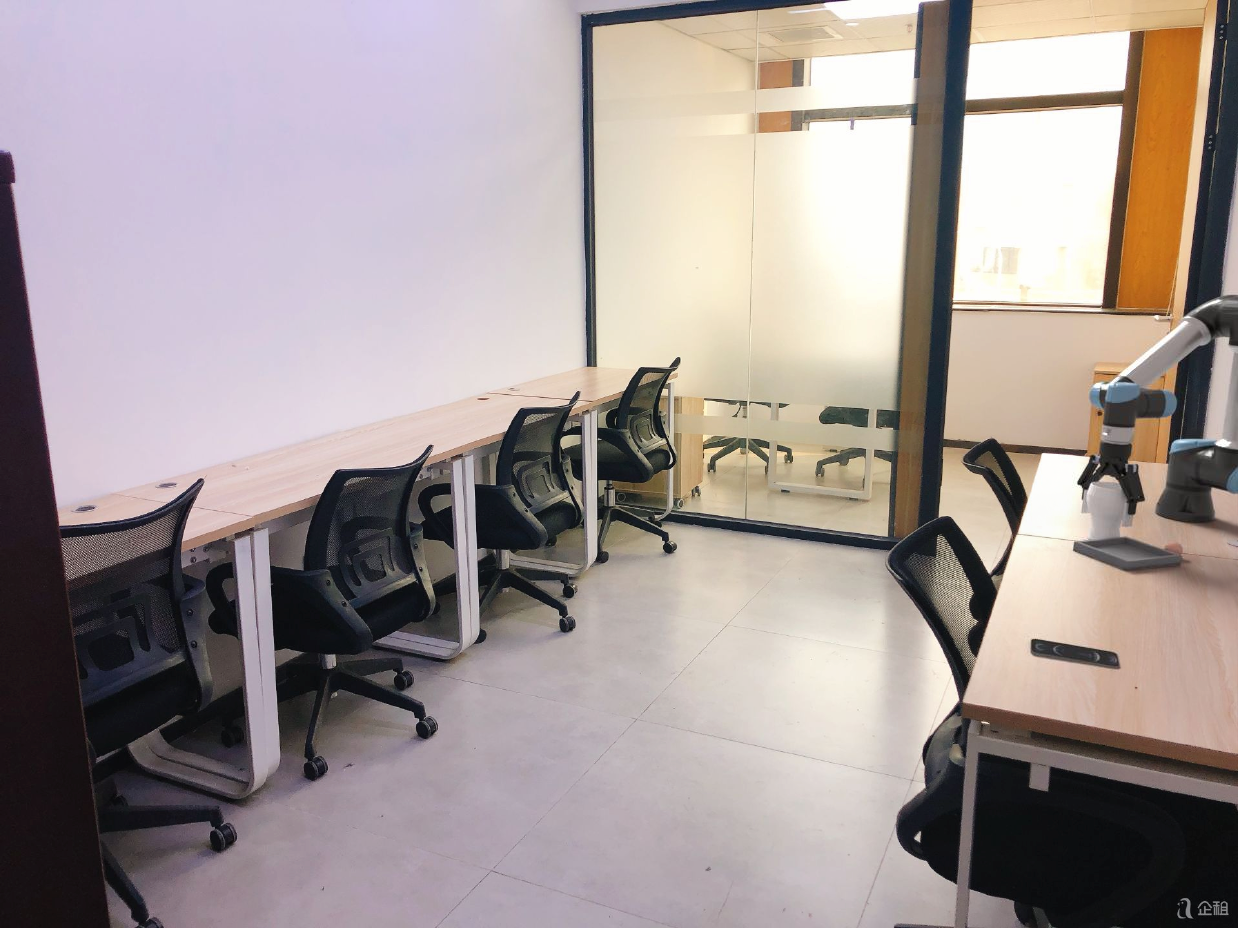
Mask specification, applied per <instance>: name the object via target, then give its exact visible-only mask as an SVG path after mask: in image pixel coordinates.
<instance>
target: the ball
mask: <svg viewBox="0 0 1238 928" xmlns="http://www.w3.org/2000/svg"><path fill="white" fill-rule="evenodd" d="M1163 549H1164V550H1167V551H1170V552H1173V553H1176V554H1179V555H1182V554H1183V546H1182V544H1180V543H1179V542H1177V541H1170V542H1169V541H1168V542H1167V543H1166V544H1165V545H1164V548H1163Z"/></svg>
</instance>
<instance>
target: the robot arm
mask: <svg viewBox="0 0 1238 928" xmlns="http://www.w3.org/2000/svg"><path fill="white" fill-rule="evenodd" d="M1177 325H1178V326H1177V327H1175V328H1174V329H1173V330H1172V331H1170V333H1168V334H1167V335H1166V336H1164V337H1163V338H1162V339H1161V340H1159V341H1158V342H1157V343H1156V344H1155V345H1153V346H1152V347H1151V348H1150V349H1149V350H1147V351H1146V352H1145V353H1144V354H1142V355H1141V356H1140V357H1139V358H1137V359H1136V360H1135V361H1134V362H1132V364H1131V363H1130V365H1129V366H1127V368H1125V369H1124V370H1123V371H1121V372H1120V373H1119V374H1118V375H1116V377H1114V378H1113V379H1111V381H1099V382H1096V383H1094V384H1093V386H1091V389H1089V390H1090V391H1089V394H1088V395H1089V396H1088V399H1089V401H1090V404H1091V406H1093V407H1095V408H1096V409H1100V410H1103V418H1102V419H1103V420H1102V426H1101V432H1100V433H1101V435H1100V438H1101V441H1100V442H1099V448H1098V454H1091V455H1090V456H1089V459H1088V463H1087V465H1086V466H1085V468H1084V469H1083V472H1082V473H1081V474H1080V477H1079V478H1078V480H1077V482H1076V484H1077V486H1080V487H1081V489H1082V492H1081V500H1082V505H1081V512H1080V513H1081V514H1090V511H1089V509H1088V505H1087V500H1086V499H1087V492H1088V489H1089V487H1090V484H1091V483H1092V482H1100V480H1102V479H1103V477H1105V476H1110V477H1111V478H1115V480H1116V481H1117V483H1119V484H1120V486H1121V488H1122V490H1123V492H1124V494H1125V496H1126V498H1127V502H1125V504H1124V511H1123V518H1122V521H1121V525H1120V527H1123V528H1126V527H1132V526H1133V519H1134V516H1135V515H1136V514H1137V506H1138V503H1142V502H1145V501H1146V498H1145V493H1144V489H1143V486H1142V485H1143V484H1142V482H1141V477H1140V474H1139V464H1137V463H1133V464H1131V463H1129V459H1130V457H1131V456H1132V449H1133V444H1132V442H1133V441H1134V437H1135V436H1134V435H1135V427H1136V422H1137V419H1140V420H1141V419H1157V420H1158V419H1161V418H1168V417H1170V416H1172V415H1173V414H1174V413H1175V412H1176V409H1177V406H1178V405H1177V404H1178V399H1177V397H1176V395H1175V393H1173V392H1172V391H1171V390H1168V389H1161V388H1157V389H1149V387H1150V386H1151V385H1152V384H1153V383H1154V382H1156V381H1157V380H1159V379H1160V377H1162V376H1164V374H1165V373H1167V372H1168V371H1169V370H1171V369H1172V368H1173V367H1174V366H1176V365H1177V364H1178V363H1179V362H1181V360H1183V359H1184V358H1185V357H1187V356H1188V355H1189V354H1190V353H1192V351H1194V350H1195V349H1196V348H1198V347H1199V346H1205V345H1207V344H1209V343H1210V342H1211V341H1212V340H1215V339H1217V338H1218V339H1219V338H1228V344H1227V345H1228V347H1229V348H1230V349H1231V350H1232V352H1233V356H1232V364H1231V369H1230V370H1231V371H1230V378H1229V384H1228V393H1227V401H1226V404H1225V405H1226V406H1225V415H1224V418H1223V419H1224V420H1223V425H1222V427H1223V428H1222V434H1221V438H1219V439H1218V440H1217V439H1209V438H1206V439H1205V438H1183V439H1182V438H1181V439H1175V440H1174V441H1173V442H1172V443H1171V445H1170V446H1171V447H1170V451H1169V454H1168V455H1169V456H1168V464H1167V470H1166V471H1167V472H1166V473H1167V474H1166V478H1165V479H1166V481H1165V487H1164V489H1163V491H1162V492H1161V495H1160V497H1159V499H1158V501H1157V502H1156V505H1155V510H1154V512H1155V514H1156V515H1159V516H1161V517H1163V518H1167V519H1170V520H1177V521H1180V522H1181V521H1182V522H1190V523H1207V522H1208V523H1209V522H1213V521H1215V517H1216V511H1215V508H1214V502H1213V500H1214V499H1213V496H1212V489H1216V490H1220V491H1224V492H1228V493H1230V494H1233V495H1235V494H1236V495H1238V294H1225V295H1221V296H1218V297H1215V298H1213V299H1210V300H1208V301H1206V302H1204V303H1202V304H1201V305H1198V306H1197V307H1196V308H1194V309H1192V310H1191V311H1189V312H1188V313H1187V314H1185V315H1184V316H1183V317H1182V318H1181V319H1180V320H1179V321H1178V324H1177ZM1098 466H1099V467H1098Z"/></svg>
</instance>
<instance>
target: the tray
mask: <svg viewBox="0 0 1238 928" xmlns="http://www.w3.org/2000/svg"><path fill="white" fill-rule="evenodd" d="M1072 551H1074V552H1076V553H1079V554H1081V555H1084V556H1087V557H1089V558H1091V559H1094V560H1096V561H1100V562H1103V563H1105V564H1108V565H1110V566H1113V567H1115V568H1118V569H1120V570H1123V571H1126V572H1128V571H1139V570H1147V569H1156V568H1164V567H1173V566H1175V567H1176V566H1181V565H1182V559H1183V555H1182V554H1181V555H1179V554H1176V553H1173V552H1170V551H1167V550H1164V548H1161V547H1158V546H1155V545H1152V544H1149V543H1146V542H1144V541H1141V540H1137V539H1135V538H1132V537H1129V536H1127V535H1126V536H1125V535H1124V536H1120V537H1114V538H1104V539H1094V540H1090V539H1086V540H1077V541H1076V540H1075V541H1073V549H1072Z"/></svg>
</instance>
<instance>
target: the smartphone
mask: <svg viewBox="0 0 1238 928" xmlns="http://www.w3.org/2000/svg"><path fill="white" fill-rule="evenodd" d="M1031 654H1032V655H1033V656H1035V657H1036V656H1037V657H1041V658H1042V657H1043V658H1047V659H1048V658H1049V659H1054V660H1060V661H1065V662H1066V661H1067V662H1073V663H1080V664H1085V665H1092V666H1097V667H1103V668H1110V669H1119V668H1120V660H1119V655H1118V653H1116V652H1114V651H1111V650H1110V651H1109V650H1105V649H1099V648H1094V647H1087V646H1081V645H1075V644H1068V643H1064V642H1063V643H1062V642H1057V641H1052V640H1047V639H1042V638H1041V639H1040V638H1031V640H1030V655H1031Z"/></svg>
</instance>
